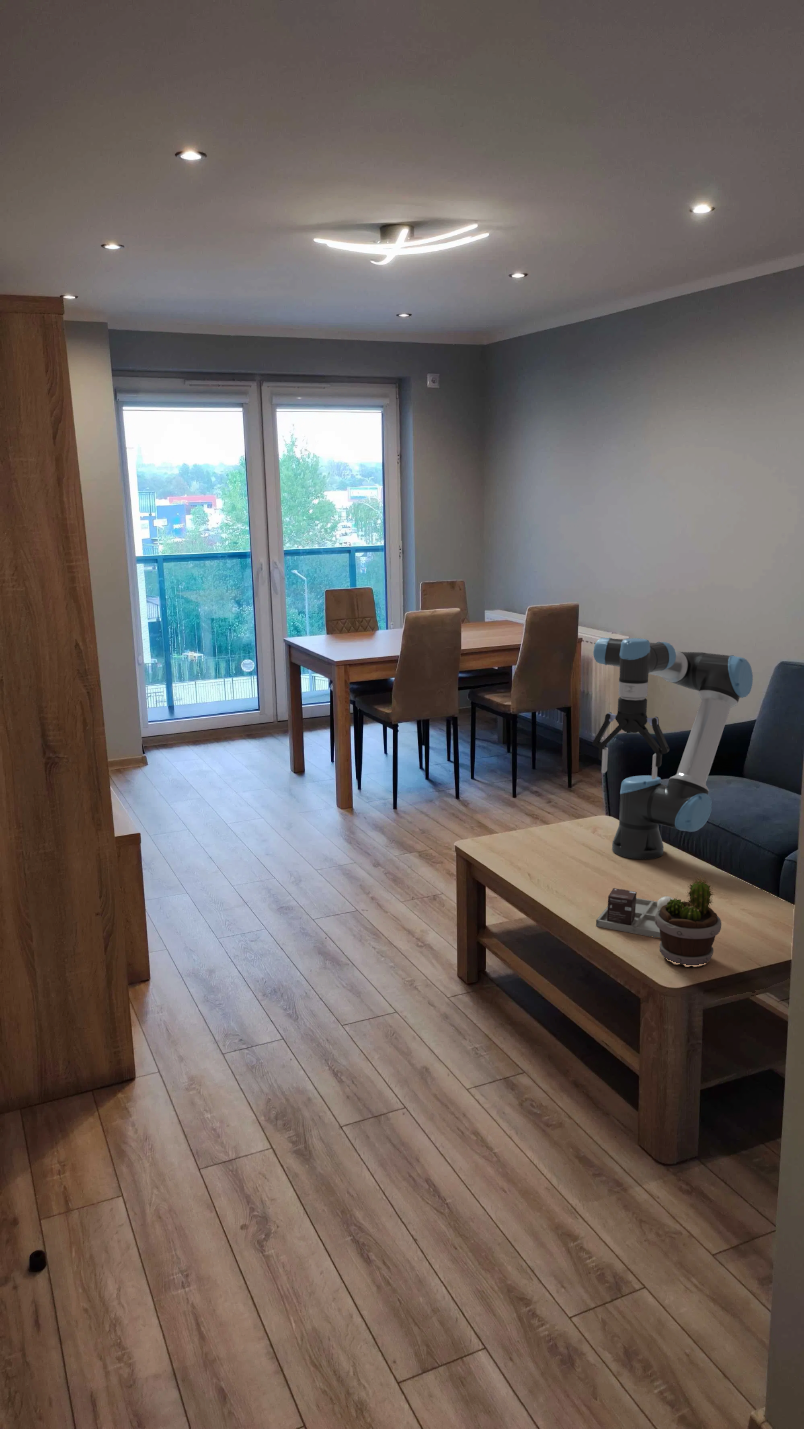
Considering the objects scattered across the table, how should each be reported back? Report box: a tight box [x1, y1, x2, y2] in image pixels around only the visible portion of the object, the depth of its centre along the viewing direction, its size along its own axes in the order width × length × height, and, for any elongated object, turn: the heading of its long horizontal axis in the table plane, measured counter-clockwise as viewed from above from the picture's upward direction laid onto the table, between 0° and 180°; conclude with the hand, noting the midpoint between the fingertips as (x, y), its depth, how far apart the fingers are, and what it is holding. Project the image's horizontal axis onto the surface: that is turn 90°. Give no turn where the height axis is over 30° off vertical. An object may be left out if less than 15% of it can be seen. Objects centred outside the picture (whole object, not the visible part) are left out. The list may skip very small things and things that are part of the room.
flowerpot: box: [655, 874, 722, 965], centre depth 231 cm, size 14×15×20 cm
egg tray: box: [595, 897, 661, 939], centre depth 255 cm, size 19×19×2 cm
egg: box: [657, 895, 674, 911], centre depth 257 cm, size 5×5×5 cm
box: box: [607, 887, 638, 926], centre depth 253 cm, size 6×6×7 cm
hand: (629, 775), depth 271 cm, fingers open, 13 cm apart
